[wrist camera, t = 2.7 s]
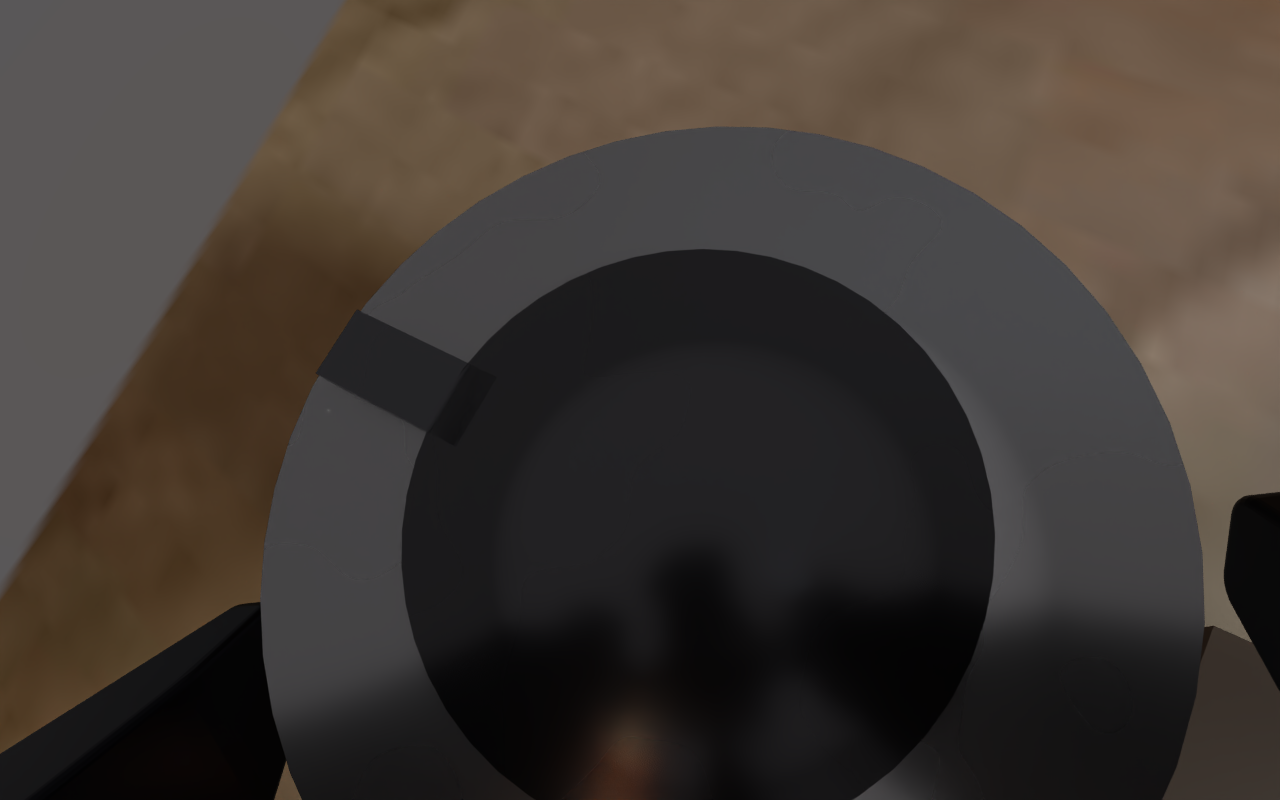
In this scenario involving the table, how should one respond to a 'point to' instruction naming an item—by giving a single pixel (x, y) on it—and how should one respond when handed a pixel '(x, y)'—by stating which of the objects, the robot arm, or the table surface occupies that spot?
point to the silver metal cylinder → (732, 502)
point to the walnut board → (1230, 727)
